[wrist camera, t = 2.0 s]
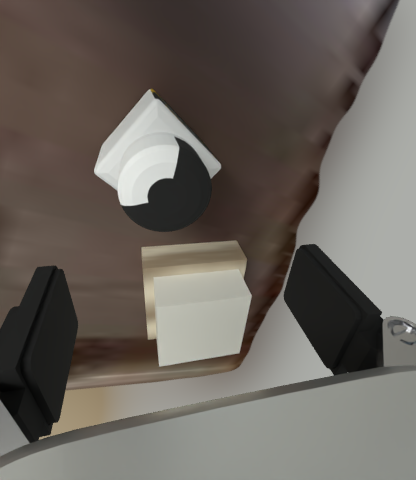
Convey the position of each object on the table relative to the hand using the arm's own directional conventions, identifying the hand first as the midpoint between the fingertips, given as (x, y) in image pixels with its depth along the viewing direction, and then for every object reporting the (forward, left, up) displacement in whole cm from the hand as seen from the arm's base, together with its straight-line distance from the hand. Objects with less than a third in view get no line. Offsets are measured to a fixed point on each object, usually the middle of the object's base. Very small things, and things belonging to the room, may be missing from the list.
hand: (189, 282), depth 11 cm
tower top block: (+18, +4, -16) cm, 24 cm away
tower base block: (+18, +4, -20) cm, 27 cm away
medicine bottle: (0, 0, -20) cm, 20 cm away
